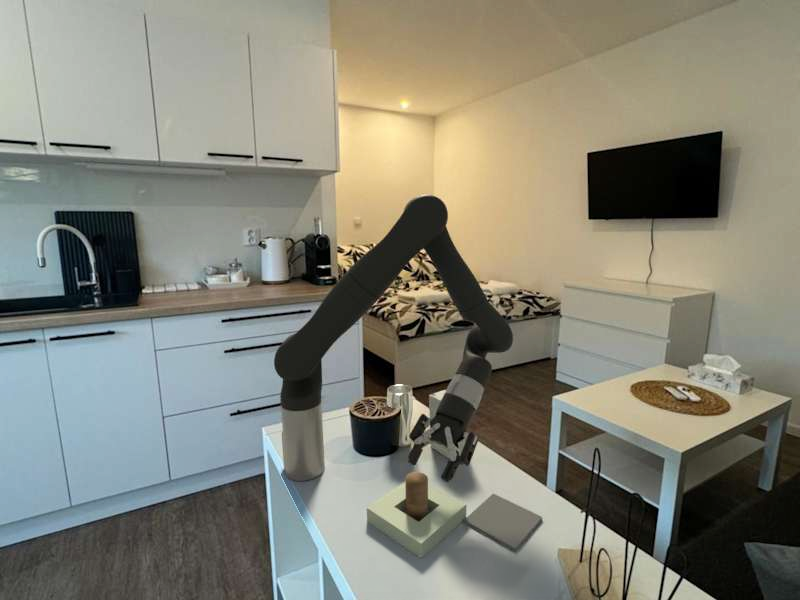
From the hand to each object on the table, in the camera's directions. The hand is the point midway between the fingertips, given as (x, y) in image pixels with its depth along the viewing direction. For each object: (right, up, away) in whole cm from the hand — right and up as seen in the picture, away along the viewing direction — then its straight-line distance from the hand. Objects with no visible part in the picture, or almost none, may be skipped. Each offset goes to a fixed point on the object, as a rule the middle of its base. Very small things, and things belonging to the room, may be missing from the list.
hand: (427, 472), depth 84 cm
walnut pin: (-2, -9, -1) cm, 9 cm away
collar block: (-2, -9, -1) cm, 9 cm away
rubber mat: (+15, -9, -2) cm, 17 cm away
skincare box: (+7, -4, +25) cm, 26 cm away
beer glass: (-5, -4, +29) cm, 30 cm away
